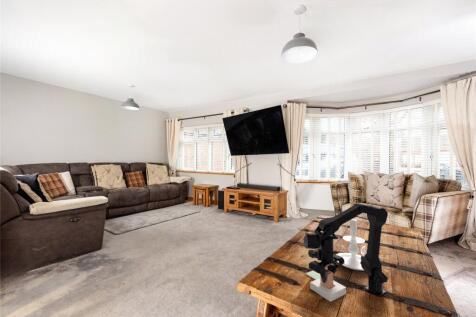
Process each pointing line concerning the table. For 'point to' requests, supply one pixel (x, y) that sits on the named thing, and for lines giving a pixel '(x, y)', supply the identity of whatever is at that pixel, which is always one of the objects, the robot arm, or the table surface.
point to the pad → (313, 275)
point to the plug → (328, 280)
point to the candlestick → (353, 249)
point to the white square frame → (328, 290)
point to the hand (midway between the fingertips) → (326, 281)
